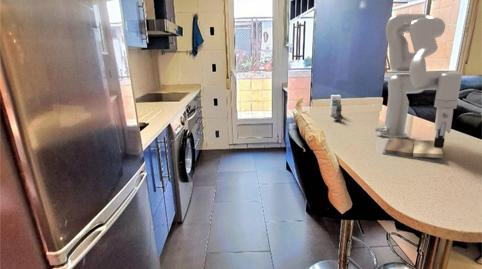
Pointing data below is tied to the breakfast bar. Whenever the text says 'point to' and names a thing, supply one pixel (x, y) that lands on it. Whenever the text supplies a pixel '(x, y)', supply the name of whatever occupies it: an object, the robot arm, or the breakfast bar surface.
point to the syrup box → (334, 104)
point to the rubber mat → (432, 159)
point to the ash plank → (426, 149)
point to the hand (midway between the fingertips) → (438, 146)
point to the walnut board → (400, 147)
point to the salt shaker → (338, 114)
